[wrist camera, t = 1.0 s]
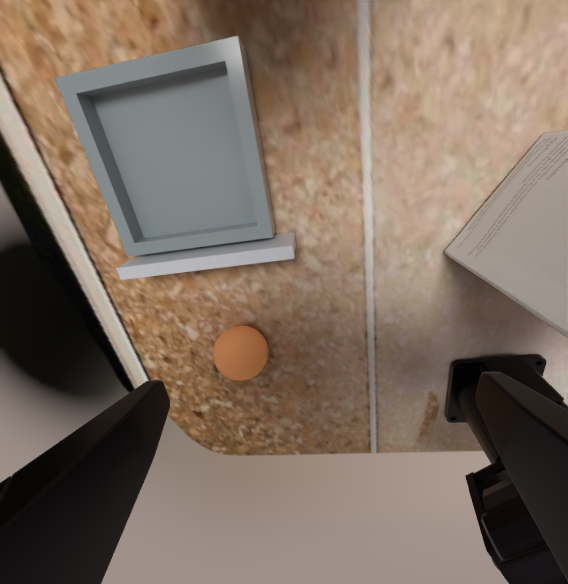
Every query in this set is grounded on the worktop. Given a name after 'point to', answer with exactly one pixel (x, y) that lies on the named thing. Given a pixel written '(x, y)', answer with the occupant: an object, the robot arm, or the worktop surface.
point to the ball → (240, 353)
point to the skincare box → (525, 233)
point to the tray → (175, 147)
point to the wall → (210, 257)
